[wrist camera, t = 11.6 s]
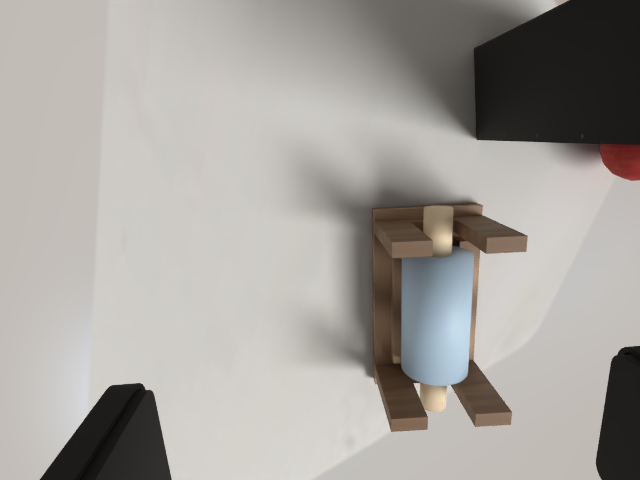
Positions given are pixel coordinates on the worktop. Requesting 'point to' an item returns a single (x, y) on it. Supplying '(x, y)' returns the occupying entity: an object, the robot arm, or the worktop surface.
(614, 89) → the tall black box
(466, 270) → the blue rolling pin
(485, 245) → the holder
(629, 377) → the robot arm
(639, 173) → the onion
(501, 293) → the worktop surface
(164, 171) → the worktop surface
